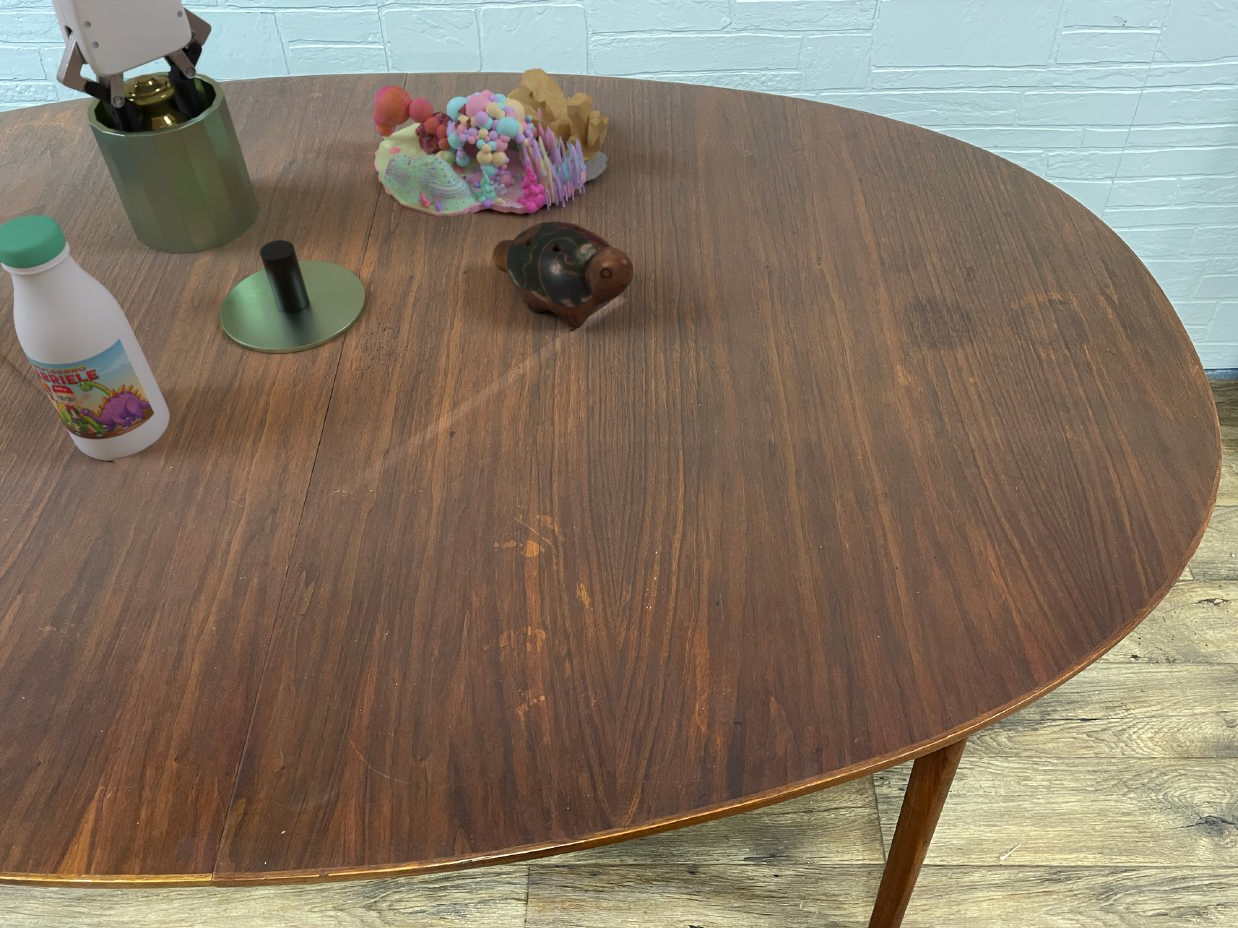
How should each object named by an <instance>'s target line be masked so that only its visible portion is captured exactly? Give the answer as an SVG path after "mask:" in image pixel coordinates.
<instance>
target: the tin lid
mask: <svg viewBox="0 0 1238 928" xmlns="http://www.w3.org/2000/svg"><path fill="white" fill-rule="evenodd" d="M259 254H260V258H261V261H262V265H263V267H264V268H263V269H260V270H259V271H256V272H254V273H252V274H250V275H249V276H246V277H245V278H244V279H242V280H241V281H240V282H238V283H237V284H236V285H235V286H234V287H232V289H230V290H229V292H228V293H227V294H226V296H225V298H224V299H223V302H222V303H221V306H220V310H219V320H220V324H221V327H222V329H223V331H224V333H225V334H226V336H227V337H228V338H229V339H230V340H231V341H232V342H234V343H235V344H237V345H238V346H240V347H243V348H245V349H248V350H251V351H254V352H259V353H265V354H289V353H290V354H291V353H298V352H303V351H306V350H310V349H315V348H317V347H319V346H322V345H324V344H327V343H329V342H332V341H334V340H335V339H337V338H339V337H340V336H342V335H344V333H346V332H347V331H348V330H350V329H351V328H352V327H353V326H354V325H355V324H356V323H357V321H358V320H359V319H360V318H361V316H362V315H363V312H364V311H365V310H364V309H365V307H366V302H367V295H366V290H365V287H364V284H363V282H362V281H361V279H360V277H358V276H357V275H356V274H355V273H354V272H353V271H351V269H349V268H346V267H345V266H342V265H340V264H338V263H333V262H330V261H323V260H314V259H313V260H309V259H307V260H305V259H304V260H298V255H297V252H296V249H295V246H294V243H292V242H290V241H288V240H286V239H277V240H272V241H269V242H267V243H265V244H264V245H263V246H262V247H261V248H260V251H259Z"/></svg>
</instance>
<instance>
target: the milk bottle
mask: <svg viewBox="0 0 1238 928" xmlns="http://www.w3.org/2000/svg"><path fill="white" fill-rule="evenodd" d="M70 249H71V248H70V244H69V243H68V241H67V240H66V236H65V234H64V232H63V230H62V228H61V226H60V224H59V222H57V221H56V219H54V218H53V217H50V216H47V215H43V214H30V215H24V216H19V217H16V218H13V219H11V220H8V221H6V222H5V223H3V224H1V225H0V262H1V263H0V264H1V267H2V269H4V270H5V271H6V272H8V273H9V274H10V276H11V280H12V285H13V323H14V329H15V333H16V335H17V338H18V341H19V344H20V346H21V348H22V350H23V352H24V354H25V356H26V358H27V360H28V362H29V364H30V366H31V367H32V369H33V371H34V373H35V375H36V377H37V379H38V380H39V383H40V384H41V386H42V388H43V390H44V392H45V393H46V395H47V396H48V399H49V400H50V402H51V404H52V406H53V407H54V409H55V411H56V413H57V414H58V416H59V418H60V420H61V422H62V423H63V425H64V427H65V428H66V430H67V432H68V434H69V436H70V437H71V439H72V440H73V442H74V445H76V447H77V449H78V450H79V451H81V452H82V454H85V455H86V456H88V457H90V458H93V459H95V460H99V461H105V462H106V461H111V462H112V461H114V459H120V458H126V457H128V456H132V455H134V454H138V453H139V452H141V451H143V450H145V449H147V448H149V447H150V446H151V445H153V444H154V443H155V442H156V441H157V440H160V438H161V437H162V435H163V434H164V433H165V431H166V430H167V428H168V425H169V423H170V417H171V416H170V410H169V408H168V405H167V403H166V401H165V398H164V396H163V393H162V392H161V388H160V387H159V385H158V383H157V380H156V378H155V376H154V373H153V371H152V369H151V367H150V364H149V363H148V361H147V359H146V356H145V354H144V352H143V349H142V347H141V346H140V344H139V341H138V339H137V337H136V335H135V332H134V331H133V328H132V327H131V326H132V325H131V324H130V323H129V320H128V319H127V317H126V314H125V313H124V311H123V309H122V307H121V306H120V304H119V302H118V301H117V300H116V298H115V297H114V295H112V293H111V292H110V291H109V290H108V289H107V288H106V287H105V286H104V285H103V284H102V283H101V282H100V281H99V280H97V279H96V278H95V277H93V276H92V275H91V274H89V273H88V272H86V271H85V270H84V269H83V268H82V267H81V265H79V264H78V263H77V262H76V260H74V258H73V257H72V256H71V255H70Z"/></svg>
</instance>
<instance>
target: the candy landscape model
mask: <svg viewBox="0 0 1238 928" xmlns="http://www.w3.org/2000/svg"><path fill="white" fill-rule="evenodd" d="M520 85H521V86H520V88H518V87H516V88H515V89H513V90H512V91H511V92H509V94H507V95H506V96H505V94H502V93H495V94H494V92H491V91H490V90H489V89H484V90H482V92H479V91H477V92H475V93H472V94H470V95H468V96H467V97H464V96H460V95H459V96H455V97H453V98H451V99H450V100H449V101H448V102H447V105H446V113H444V111H443V110H439V111H435V112H434V107H433V104H432V103H431V102H430V100H428V99H427V98H424V97H416V98H414V99H412V98H411V95H410V94H409V93H408V91H407V90H405V89H404V88H403V87H401V86H398V85H387V86H385V87H382V88H381V89H380V90H378V91H377V93H376V95H375V97H374V99H373V100H374V101H373V105H374V106H373V107H374V110H373V115H372V116H373V121H374V123H375V125H376V132H377V134H378V135H379V136H381V137H382V138H383V139H384V140H382V141H381V142H380V143H379V146H378V149H376V150H375V152H374V155H375V158H374V159H375V160H374V161H373V164H374V168H375V172H376V173H378V174H377V177H378V182H379V183H381V184H382V187H383V188H384V192H385V194H386V195H388V196H391V197H393V198H394V200H395V201H396V202H398V203H399V206H401V207H405V208H408V209H411V210H414V211H417V212H421V213H423V214H427V215H431V216H434V217H449V218H450V217H453V216H461V215H465V214H467V213H471V214H475V213H477V212H479V211H483V210H489V209H490V210H493V211H497V212H500V213H507V214H508V213H515V214H519V215H522V214H526V213H528V214H534V213H536V212H537V211H538V210H540V208H543V206H544V205H546V208H547V211H550V207H551V206H552V204H554V203H555V205H556V206H558V205H559V202H562V203H561V204H562V208H565V207H566V202H568V199H569V198H571V197H572V198H571V199H572V201H573V202H574V201H575V191H577V190H578V191H579V192H578V193H579V194H585V193H586V189H585V188H586V187H585V183H586V182H589V181H591V180H594V179H596V178H598V177H599V176H600V175H601V174H602V173H603V172H604V171H605V170H606V169H607V168H608V165H607V162H608V160H609V158H608V157H607V154H606V153H604V152H602V151H600V148H601V147H602V146H603V143H604V140H605V138H606V136H607V133H608V123H609V116H602V115H601V110H591V109H592V107H593V103H594V97H592V96H590V95H589V94H588V93H585V92H581V91H578V92H577V93H575V94H574V95H573V96H572V97H569V96H567V98H566V97H565V95H564V93H563V90H562V88H561V87H560V86H559V84H558V83H557V82H556V81H555V80H554V78H553V77H551V76H550V74H548V73H547V72H546V71H545V70H543V69H542V68H530V69H525V70H524V72H523V73H522V75H521V84H520ZM410 119H411V120H412V121H413V122H414V123H412V124H411V125H409V126H407V127H404V128H402V129H399V130H397V131H394V129H395V127H396V126H400V125H403V124H405V123H406V122H408V121H409V120H410ZM565 201H566V202H565Z"/></svg>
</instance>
